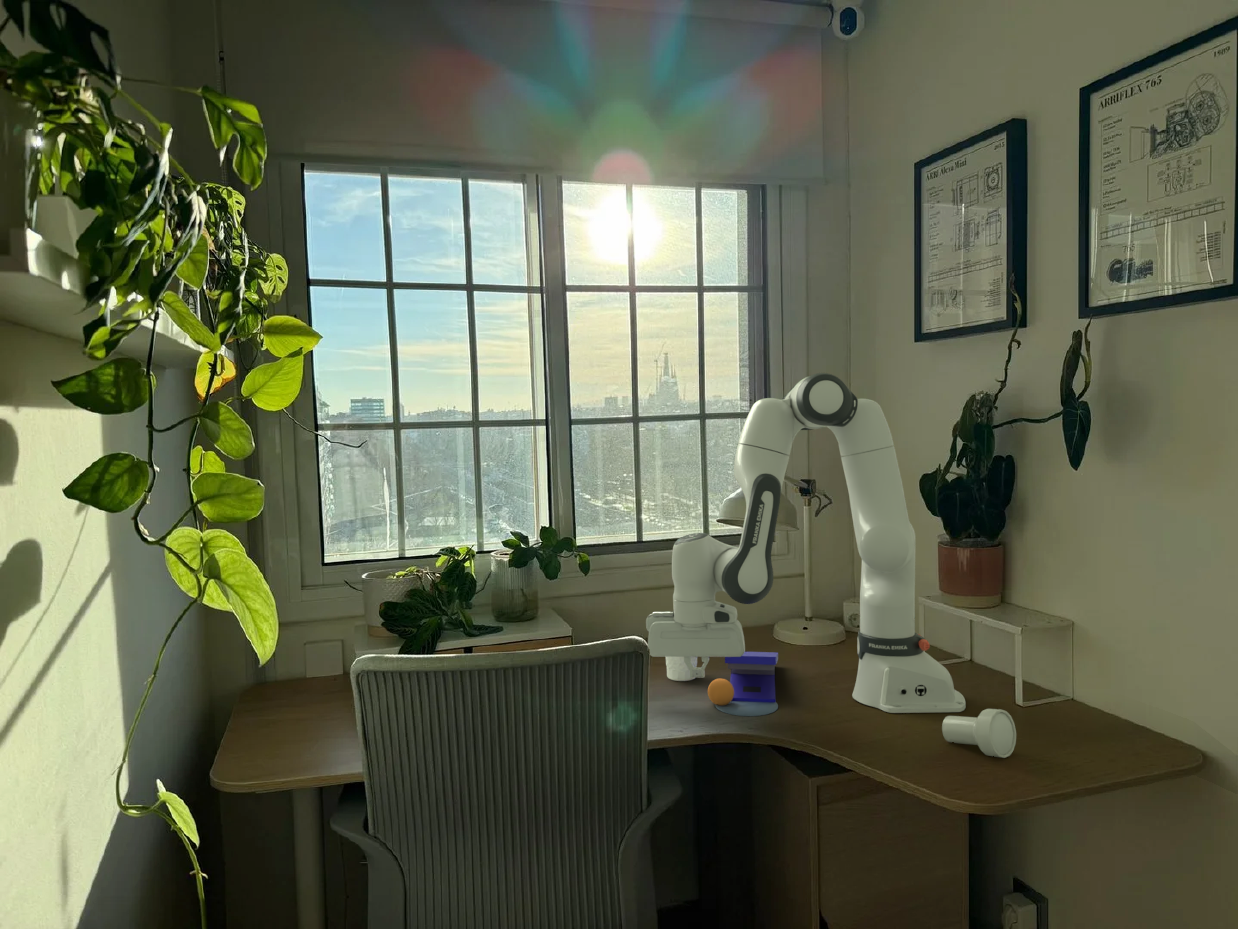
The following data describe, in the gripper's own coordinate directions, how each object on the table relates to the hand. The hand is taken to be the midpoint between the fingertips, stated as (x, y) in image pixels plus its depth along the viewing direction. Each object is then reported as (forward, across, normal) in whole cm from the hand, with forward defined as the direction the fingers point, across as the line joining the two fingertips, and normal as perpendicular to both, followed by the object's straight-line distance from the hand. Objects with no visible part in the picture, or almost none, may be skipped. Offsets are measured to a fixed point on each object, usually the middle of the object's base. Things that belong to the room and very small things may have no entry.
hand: (697, 677), depth 182 cm
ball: (+3, +5, 0) cm, 6 cm away
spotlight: (+8, +52, -18) cm, 56 cm away
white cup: (+6, -6, +19) cm, 20 cm away
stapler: (+7, +11, +16) cm, 21 cm away
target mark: (+6, +10, 0) cm, 12 cm away
